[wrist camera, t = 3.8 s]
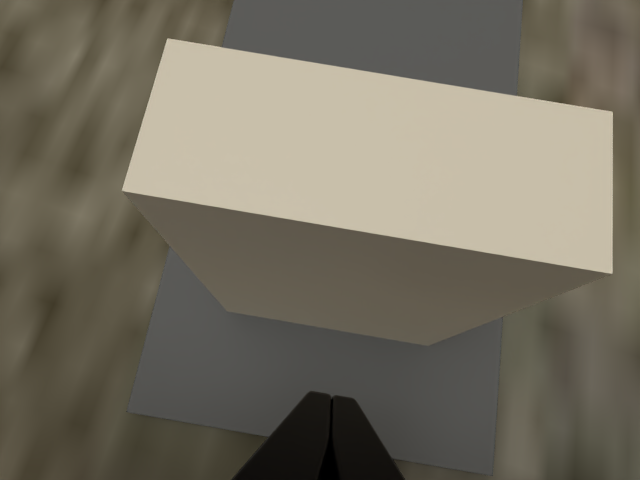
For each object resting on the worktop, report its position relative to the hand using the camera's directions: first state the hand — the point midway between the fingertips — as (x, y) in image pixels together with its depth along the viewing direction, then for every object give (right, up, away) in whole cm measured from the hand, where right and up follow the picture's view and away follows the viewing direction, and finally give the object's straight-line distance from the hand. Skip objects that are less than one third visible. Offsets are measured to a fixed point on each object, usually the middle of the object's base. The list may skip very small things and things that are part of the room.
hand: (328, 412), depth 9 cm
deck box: (0, +1, +9) cm, 9 cm away
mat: (+1, +6, +11) cm, 12 cm away
